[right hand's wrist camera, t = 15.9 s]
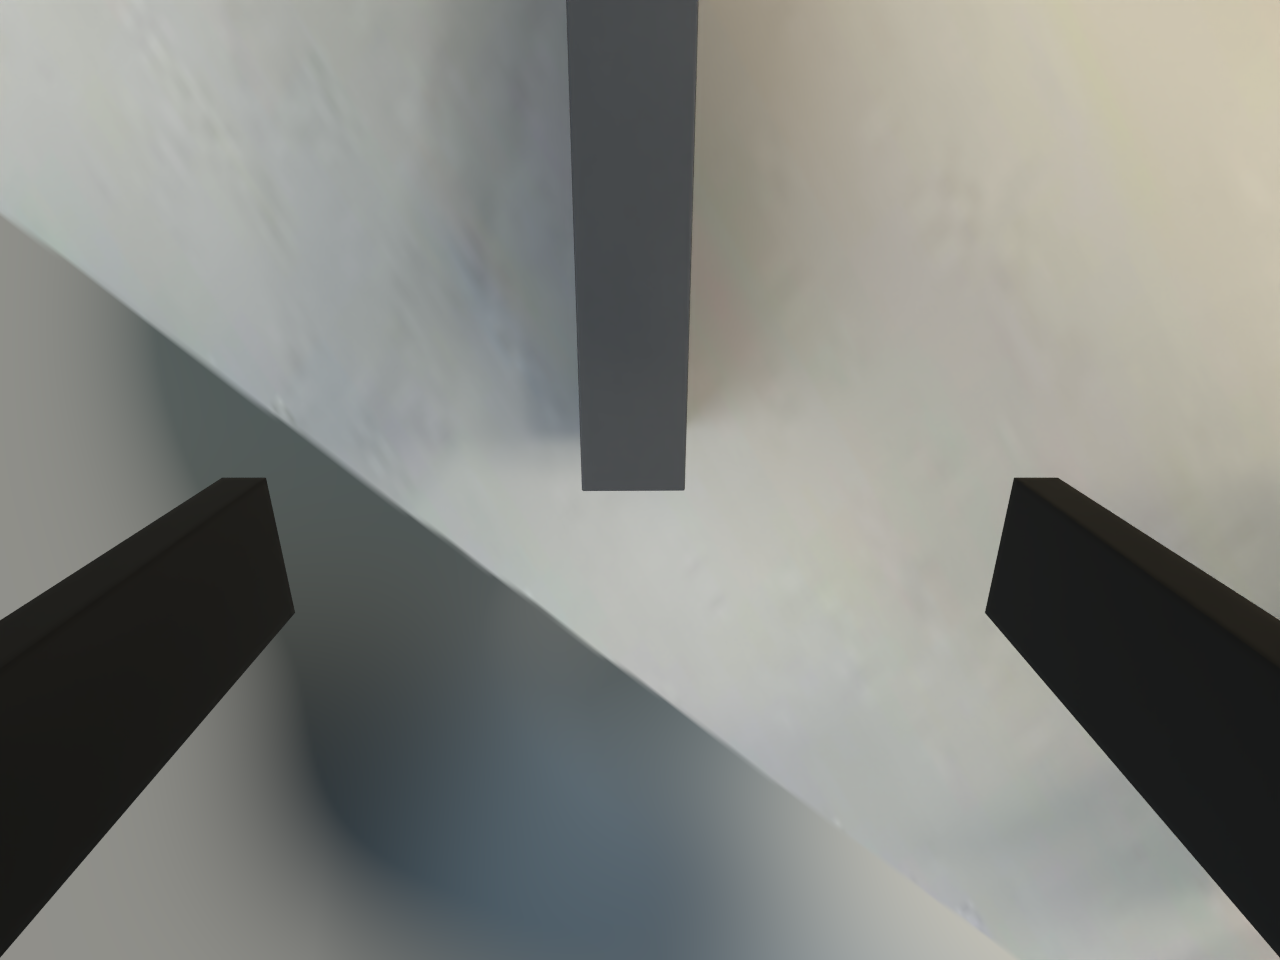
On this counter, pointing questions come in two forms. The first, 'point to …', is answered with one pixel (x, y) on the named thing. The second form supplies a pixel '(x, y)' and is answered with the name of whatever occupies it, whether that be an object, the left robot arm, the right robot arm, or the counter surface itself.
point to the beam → (632, 235)
